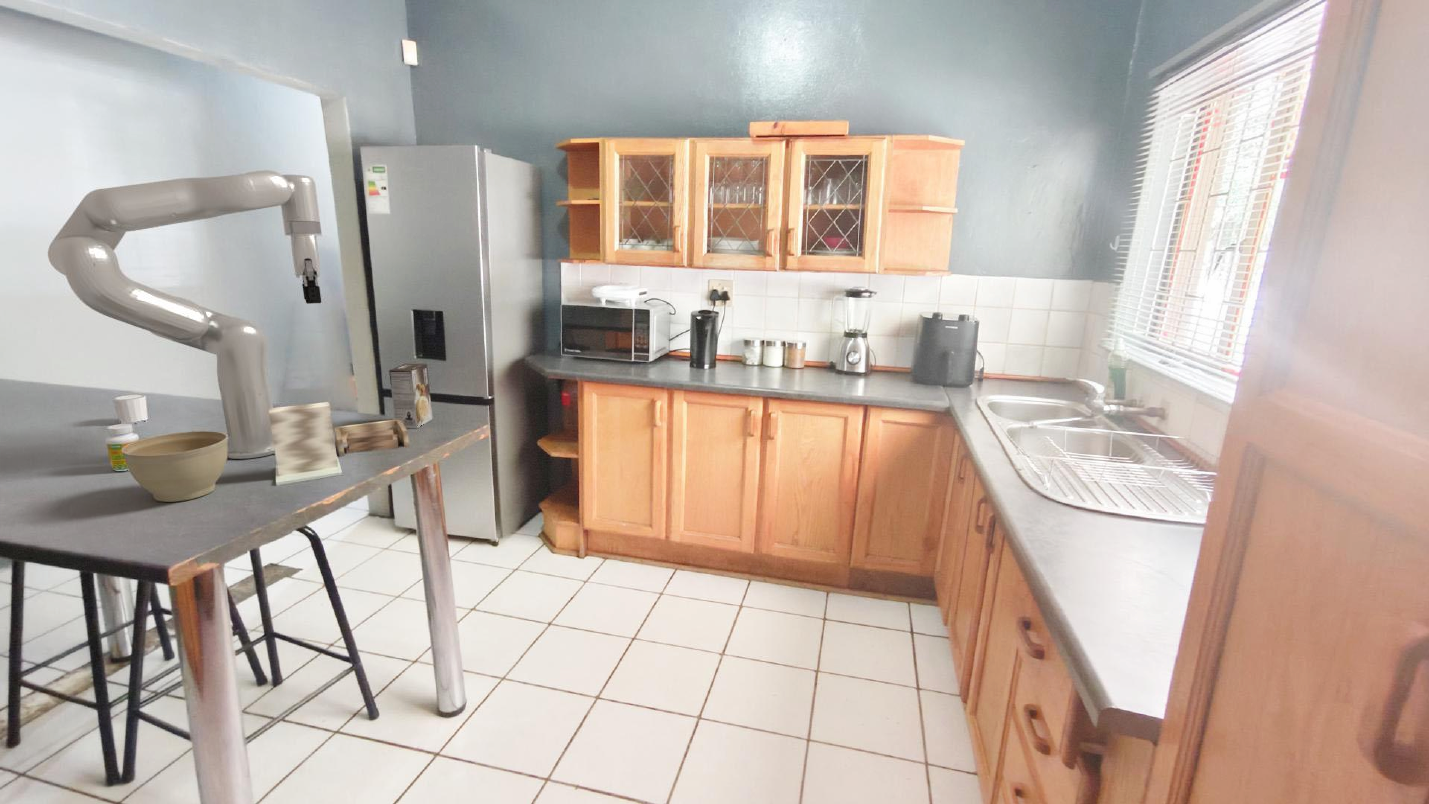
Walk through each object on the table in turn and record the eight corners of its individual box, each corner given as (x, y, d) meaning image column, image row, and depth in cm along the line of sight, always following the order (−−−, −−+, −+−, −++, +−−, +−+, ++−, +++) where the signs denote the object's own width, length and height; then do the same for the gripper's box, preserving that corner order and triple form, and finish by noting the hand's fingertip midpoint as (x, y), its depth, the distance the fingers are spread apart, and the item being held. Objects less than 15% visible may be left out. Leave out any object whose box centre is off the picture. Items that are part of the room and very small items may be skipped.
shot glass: (146, 417, 181) (141, 392, 180) (154, 421, 178) (149, 396, 176) (114, 422, 176) (108, 397, 174) (121, 427, 172) (116, 401, 170)
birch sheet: (278, 476, 138) (268, 412, 135) (278, 470, 142) (268, 408, 138) (338, 466, 144) (329, 405, 141) (336, 461, 148) (328, 401, 144)
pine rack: (339, 456, 153) (337, 439, 152) (335, 442, 163) (333, 427, 162) (409, 445, 161) (407, 430, 160) (401, 433, 171) (399, 418, 170)
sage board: (276, 485, 135) (275, 482, 135) (276, 468, 145) (275, 465, 144) (342, 474, 141) (342, 472, 141) (337, 458, 151) (337, 456, 151)
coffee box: (410, 418, 184) (405, 363, 180) (433, 419, 184) (428, 363, 180) (394, 428, 175) (388, 369, 171) (418, 428, 175) (412, 370, 171)
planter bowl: (216, 505, 125) (206, 451, 122) (114, 514, 120) (101, 458, 118) (248, 476, 140) (240, 427, 137) (158, 483, 135) (148, 433, 133)
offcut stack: (346, 454, 155) (344, 439, 154) (349, 448, 159) (347, 433, 158) (398, 449, 159) (396, 434, 158) (398, 443, 163) (397, 429, 162)
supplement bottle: (109, 474, 140) (100, 430, 137) (115, 466, 144) (106, 424, 142) (142, 470, 142) (133, 427, 140) (147, 462, 147) (138, 421, 144)
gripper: (283, 229, 161) (293, 298, 165) (284, 229, 147) (295, 305, 151) (319, 229, 165) (328, 297, 169) (323, 229, 151) (332, 304, 155)
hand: (312, 301), depth 160 cm, fingers open, 9 cm apart
